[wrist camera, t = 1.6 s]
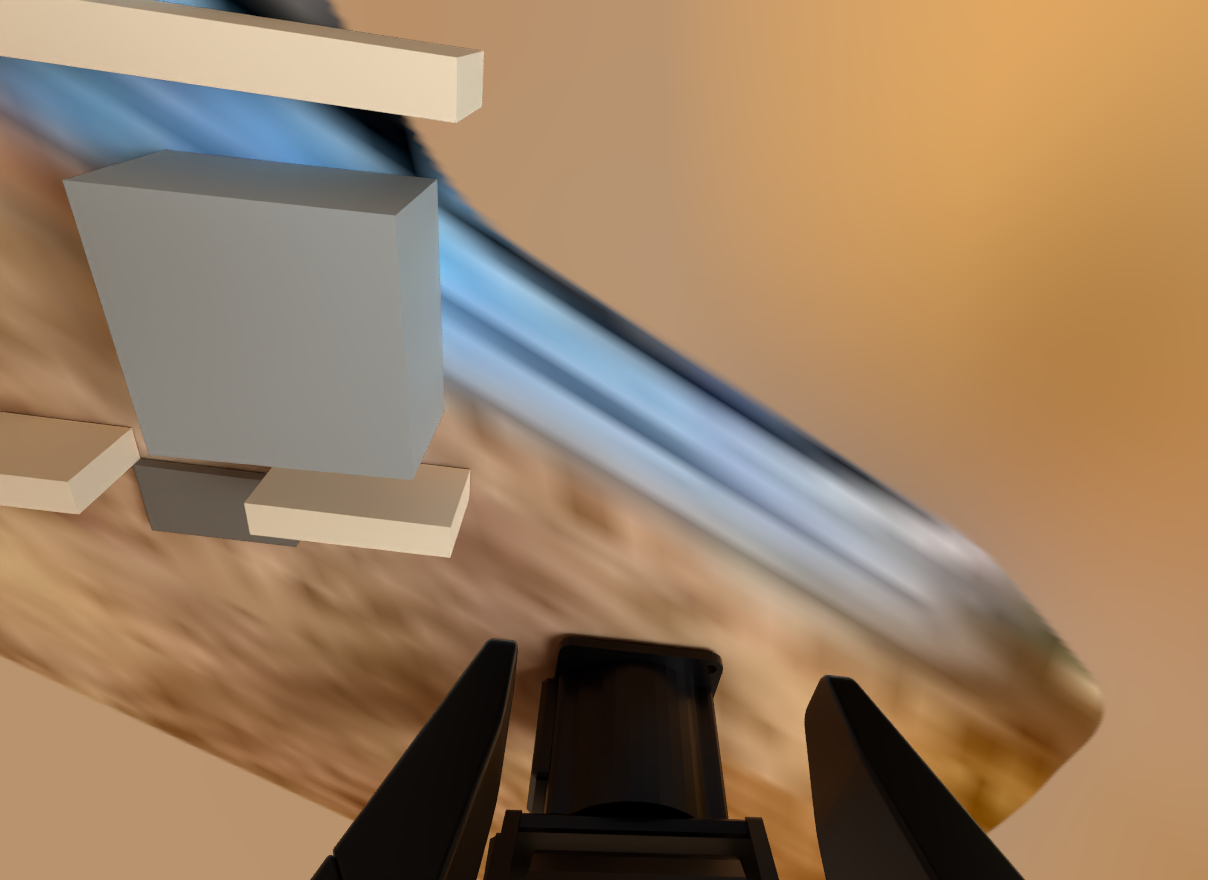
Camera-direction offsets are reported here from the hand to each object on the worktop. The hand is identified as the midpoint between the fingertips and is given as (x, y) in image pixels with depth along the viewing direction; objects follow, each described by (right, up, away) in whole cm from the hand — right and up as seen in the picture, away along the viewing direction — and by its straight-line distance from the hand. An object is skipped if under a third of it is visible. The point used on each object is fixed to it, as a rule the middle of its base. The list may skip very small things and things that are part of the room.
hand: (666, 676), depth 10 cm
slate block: (-9, +8, +10) cm, 16 cm away
